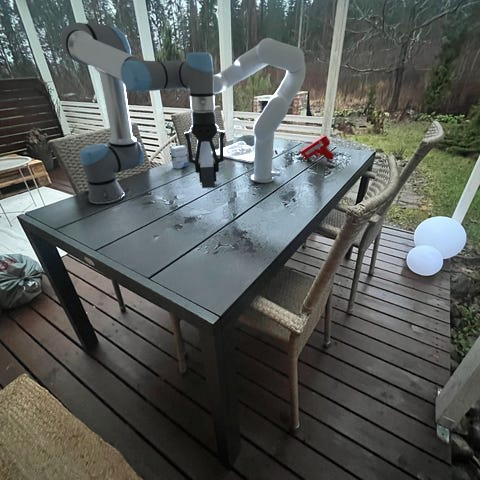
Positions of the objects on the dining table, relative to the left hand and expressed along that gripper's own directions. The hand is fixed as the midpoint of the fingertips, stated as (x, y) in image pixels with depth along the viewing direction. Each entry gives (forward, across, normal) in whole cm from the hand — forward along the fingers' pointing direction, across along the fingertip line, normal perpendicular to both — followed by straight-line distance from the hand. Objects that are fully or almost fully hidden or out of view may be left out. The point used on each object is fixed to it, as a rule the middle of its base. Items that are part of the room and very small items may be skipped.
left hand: (207, 180), depth 99 cm
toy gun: (+16, +71, +72) cm, 103 cm away
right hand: (-1, 0, +50) cm, 51 cm away
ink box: (+17, -16, +70) cm, 74 cm away
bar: (+1, 0, +25) cm, 25 cm away
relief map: (+16, +25, +93) cm, 98 cm away
